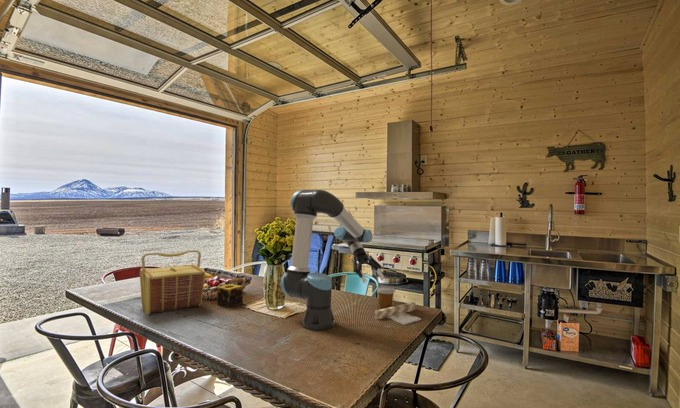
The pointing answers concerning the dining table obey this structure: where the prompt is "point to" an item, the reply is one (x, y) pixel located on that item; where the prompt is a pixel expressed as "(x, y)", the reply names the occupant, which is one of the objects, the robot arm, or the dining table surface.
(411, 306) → the jamb strip
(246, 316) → the dining table surface
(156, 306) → the picnic basket
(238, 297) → the candle
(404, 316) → the white napkin
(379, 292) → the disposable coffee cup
